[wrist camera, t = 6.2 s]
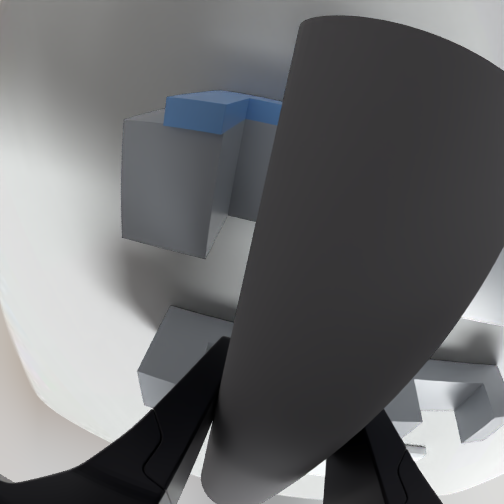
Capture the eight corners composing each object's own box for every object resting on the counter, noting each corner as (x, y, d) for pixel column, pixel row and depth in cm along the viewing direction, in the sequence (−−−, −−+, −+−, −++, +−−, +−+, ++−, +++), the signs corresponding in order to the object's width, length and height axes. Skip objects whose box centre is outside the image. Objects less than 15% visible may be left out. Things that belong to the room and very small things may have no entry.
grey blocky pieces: (580, 239, 8) (622, 284, 5) (470, 392, 15) (484, 442, 11) (189, 86, 9) (121, 93, 5) (170, 344, 15) (142, 408, 12)
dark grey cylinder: (466, 107, 4) (595, 157, 1) (276, 455, 13) (268, 514, 10) (298, 44, 4) (301, -17, 1) (209, 442, 13) (194, 501, 10)
